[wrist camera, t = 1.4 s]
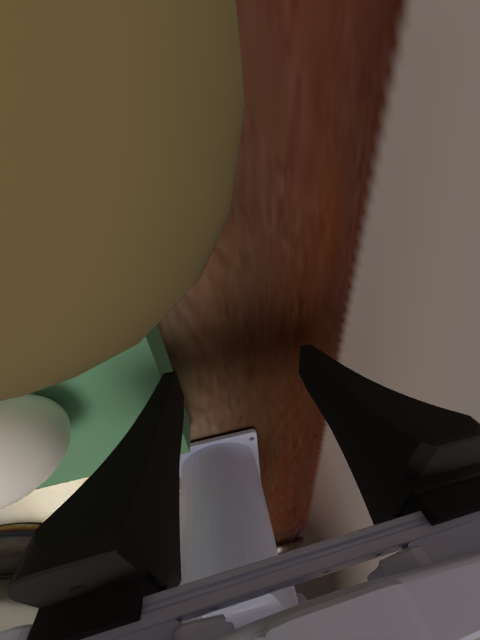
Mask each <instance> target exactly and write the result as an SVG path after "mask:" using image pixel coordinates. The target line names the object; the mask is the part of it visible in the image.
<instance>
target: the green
mask: <svg viewBox="0 0 480 640" xmlns="http://www.w3.org/2000/svg"><path fill="white" fill-rule="evenodd" d="M172 371H173V369H172V366H171V363H170V360H169V357H168V354H167V351H166V348H165V345H164V343H163V340H162V337H161V334H160V331H159V328H158V325H156V326H155V327H154V328H153V329H152V330H151V331H150V332H149V333H148V334H147V336H146V337H145V338H144V339H143V340H142V341H141V342H140V343H139V344H137V345H135V346H133V347H132V348H130V349H128V350H126V351H124V352H122V353H120V354H118V355H116V356H115V357H113V358H111V359H109V360H107V361H105V362H103V363H101V364H99V365H97V366H96V367H94V368H92V369H90V370H88V371H86V372H84V373H82V374H80V375H79V376H77V377H75V378H72V379H69V380H66V381H64V382H61V383H58V384H55V385H52V386H49V387H47V388H44V389H41V390H38V391H35V392H33V393H30V394H33V395H39V396H43V397H46V398H49V399H51V400H53V401H54V402H56V403H57V404H59V405H60V406H61V407H62V408H63V409H64V411H65V412H66V414H67V415H68V417H69V420H70V424H71V439H70V443H69V446H68V449H67V452H66V454H65V456H64V458H63V459H62V461H61V463H60V464H59V466H58V467H57V468H56V470H55V471H54V472H53V473H52V474H51V475H50V477H49V478H48V479H47V480H46V481H45V482H44V483H42V484H41V485H40V486H39V487H38V488H37V489H40V488H44V487H48V486H52V485H56V484H60V483H65V482H69V481H73V480H77V479H81V478H85V477H90V476H91V475H92V474H93V473H94V472H95V471H96V470H97V469H98V467H99V466H100V465H101V464H102V463H103V462H104V461H105V459H106V458H107V457H108V456H109V455H110V453H111V452H112V451H113V450H114V449H115V447H116V446H117V445H118V444H119V442H120V441H121V440H122V439H123V437H124V436H125V435H126V433H127V432H128V431H129V429H130V428H131V426H132V425H133V424H134V422H135V421H136V419H137V417H138V416H139V414H140V413H141V411H142V410H143V408H144V407H145V405H146V403H147V402H148V400H149V398H150V397H151V395H152V393H153V392H154V390H155V388H156V386H157V384H158V382H159V381H160V379H161V377H162V375H163V374H164V373H167V372H172ZM189 452H190V420H189V417H188V414H187V411H186V408H185V405H184V422H183V432H182V443H181V453H180V455H181V454H185V453H189ZM35 490H36V489H35Z"/></svg>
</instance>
